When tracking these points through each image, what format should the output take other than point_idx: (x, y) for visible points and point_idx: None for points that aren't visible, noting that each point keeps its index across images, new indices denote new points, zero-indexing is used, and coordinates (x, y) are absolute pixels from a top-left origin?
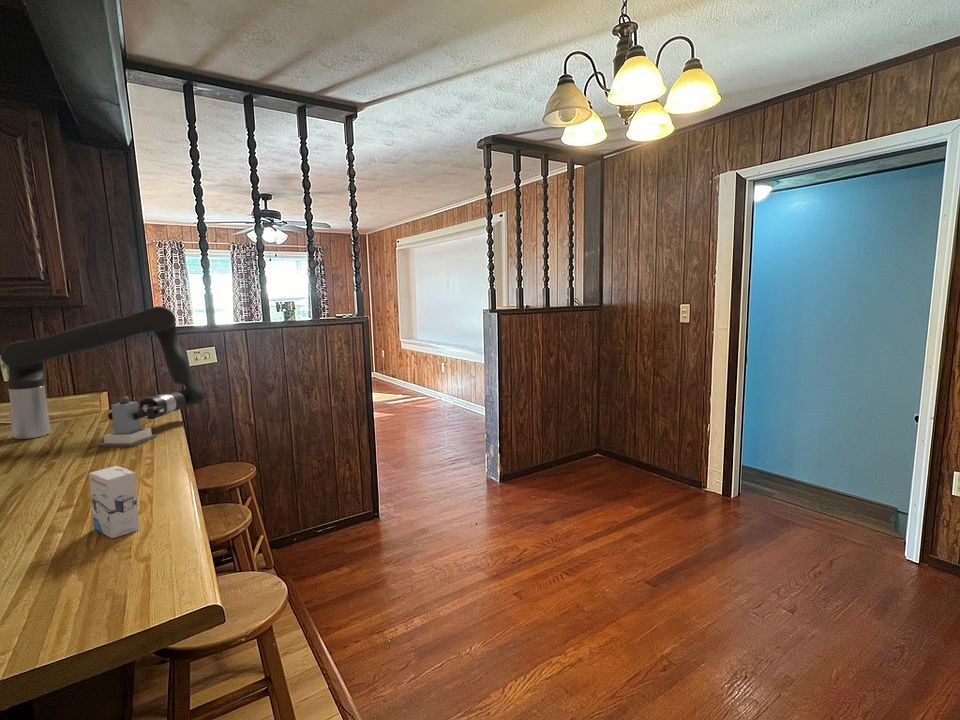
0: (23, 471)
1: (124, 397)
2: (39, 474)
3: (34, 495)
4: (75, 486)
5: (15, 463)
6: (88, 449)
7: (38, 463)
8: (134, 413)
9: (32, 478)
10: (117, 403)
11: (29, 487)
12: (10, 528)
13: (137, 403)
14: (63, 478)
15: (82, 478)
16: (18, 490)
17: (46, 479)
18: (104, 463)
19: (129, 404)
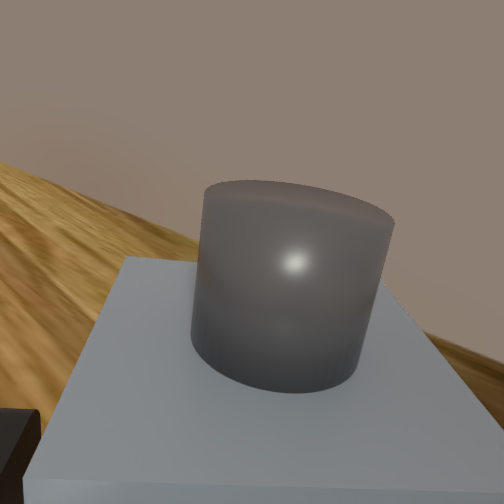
0: None
1: (265, 194)
2: None
3: (78, 211)
4: (12, 223)
5: None
6: None
7: None
8: (1, 408)
9: (184, 257)
10: (418, 338)
11: (131, 231)
12: (18, 169)
13: (33, 499)
14: (88, 250)
15: (27, 246)
16: (141, 225)
17: (134, 251)
18: (34, 315)
19: (109, 304)
